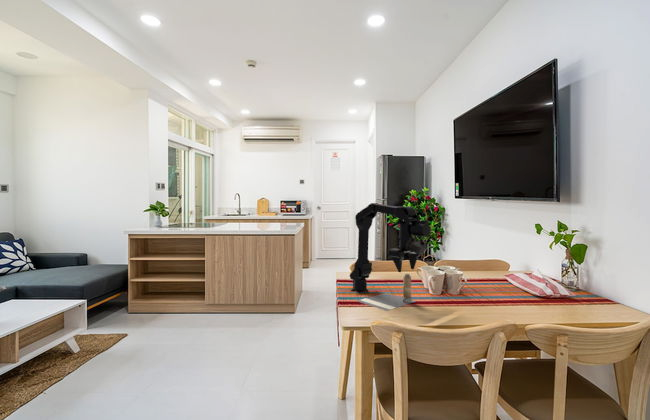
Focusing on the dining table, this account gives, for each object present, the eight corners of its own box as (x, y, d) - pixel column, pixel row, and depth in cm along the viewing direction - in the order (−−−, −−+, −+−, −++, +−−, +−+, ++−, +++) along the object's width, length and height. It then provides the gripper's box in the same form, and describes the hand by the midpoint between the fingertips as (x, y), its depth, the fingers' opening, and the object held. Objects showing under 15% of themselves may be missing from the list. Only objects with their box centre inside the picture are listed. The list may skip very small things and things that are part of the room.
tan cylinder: (401, 301, 144) (401, 274, 144) (406, 300, 146) (406, 273, 146) (408, 303, 141) (408, 275, 141) (413, 302, 144) (413, 274, 143)
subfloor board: (356, 303, 145) (356, 300, 145) (385, 295, 158) (385, 292, 158) (386, 313, 132) (386, 310, 132) (416, 303, 145) (416, 300, 145)
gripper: (408, 238, 133) (408, 276, 133) (434, 235, 145) (434, 270, 145) (386, 236, 141) (386, 272, 141) (413, 233, 153) (412, 267, 153)
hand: (406, 270), depth 145 cm, fingers open, 9 cm apart
